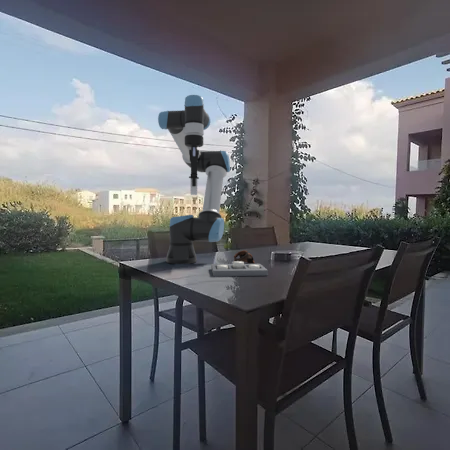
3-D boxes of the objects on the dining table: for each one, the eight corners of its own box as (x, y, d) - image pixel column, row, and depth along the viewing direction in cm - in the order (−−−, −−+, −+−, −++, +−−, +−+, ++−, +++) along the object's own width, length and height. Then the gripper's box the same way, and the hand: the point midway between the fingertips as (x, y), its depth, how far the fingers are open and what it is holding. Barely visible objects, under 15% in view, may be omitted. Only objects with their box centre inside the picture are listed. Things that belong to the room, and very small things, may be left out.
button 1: (216, 270, 124) (216, 264, 124) (227, 270, 125) (227, 264, 125) (217, 272, 120) (217, 266, 120) (228, 272, 120) (228, 266, 120)
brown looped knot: (258, 268, 140) (251, 253, 137) (240, 277, 140) (233, 263, 137) (252, 257, 151) (246, 244, 148) (235, 266, 151) (228, 252, 148)
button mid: (232, 266, 125) (232, 261, 125) (242, 266, 125) (242, 261, 125) (233, 268, 121) (233, 263, 120) (244, 268, 121) (244, 263, 121)
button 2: (247, 270, 126) (247, 264, 126) (258, 269, 126) (258, 264, 126) (249, 272, 121) (249, 266, 121) (260, 272, 122) (260, 266, 122)
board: (211, 271, 129) (211, 264, 129) (259, 271, 131) (259, 263, 131) (213, 279, 115) (213, 270, 115) (267, 278, 117) (267, 270, 117)
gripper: (185, 139, 128) (185, 195, 130) (184, 131, 115) (184, 193, 117) (202, 139, 129) (202, 195, 130) (204, 132, 116) (203, 194, 117)
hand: (193, 194), depth 123 cm, fingers closed
